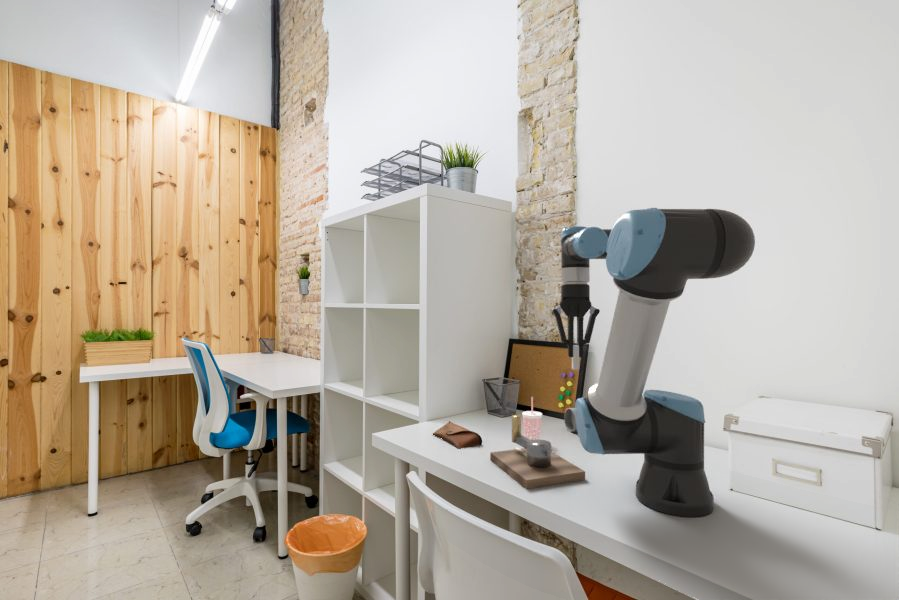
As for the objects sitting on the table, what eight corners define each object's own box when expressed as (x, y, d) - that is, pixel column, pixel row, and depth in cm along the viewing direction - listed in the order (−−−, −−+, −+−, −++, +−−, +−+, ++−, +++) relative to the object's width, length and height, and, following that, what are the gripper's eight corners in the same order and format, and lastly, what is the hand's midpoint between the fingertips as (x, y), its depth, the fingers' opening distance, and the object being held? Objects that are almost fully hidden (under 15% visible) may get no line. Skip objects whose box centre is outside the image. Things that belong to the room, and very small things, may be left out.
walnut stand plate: (585, 479, 109) (585, 470, 109) (526, 488, 104) (526, 478, 104) (540, 452, 129) (540, 444, 129) (489, 459, 123) (489, 450, 123)
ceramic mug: (597, 433, 147) (597, 409, 148) (574, 434, 145) (574, 410, 146) (580, 424, 158) (580, 402, 158) (559, 426, 156) (559, 403, 156)
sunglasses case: (428, 433, 146) (437, 414, 148) (444, 441, 150) (453, 422, 151) (459, 449, 131) (469, 428, 133) (476, 457, 134) (485, 436, 136)
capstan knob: (556, 465, 113) (556, 428, 112) (535, 468, 110) (535, 431, 110) (523, 446, 127) (523, 413, 127) (504, 449, 124) (504, 416, 124)
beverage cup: (535, 438, 141) (535, 394, 141) (546, 444, 136) (546, 398, 136) (518, 441, 139) (518, 395, 139) (528, 447, 133) (528, 399, 133)
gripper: (596, 284, 128) (596, 367, 128) (549, 284, 129) (549, 366, 129) (602, 283, 120) (602, 371, 120) (553, 283, 122) (553, 370, 122)
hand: (575, 368), depth 125 cm, fingers closed
